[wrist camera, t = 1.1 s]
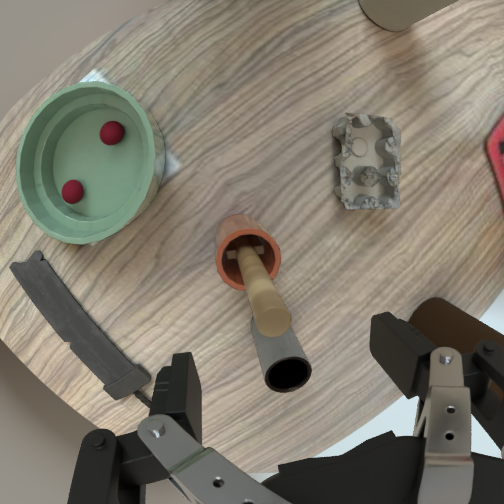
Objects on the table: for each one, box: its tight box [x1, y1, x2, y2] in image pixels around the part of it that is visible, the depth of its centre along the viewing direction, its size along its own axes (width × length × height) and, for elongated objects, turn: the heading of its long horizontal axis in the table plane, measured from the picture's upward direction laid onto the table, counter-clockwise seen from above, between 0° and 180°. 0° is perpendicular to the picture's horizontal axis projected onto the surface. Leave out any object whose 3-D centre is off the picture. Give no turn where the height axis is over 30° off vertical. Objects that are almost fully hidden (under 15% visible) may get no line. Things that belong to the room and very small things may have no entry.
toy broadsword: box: [9, 251, 151, 408], centre depth 33 cm, size 7×35×2 cm, turn 34°
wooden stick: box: [226, 234, 291, 337], centre depth 23 cm, size 2×3×18 cm, turn 97°
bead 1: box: [61, 180, 84, 204], centre depth 27 cm, size 3×3×3 cm
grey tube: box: [251, 317, 312, 393], centre depth 31 cm, size 4×4×10 cm
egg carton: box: [332, 113, 401, 210], centre depth 30 cm, size 11×8×4 cm
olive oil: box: [409, 298, 504, 400], centre depth 28 cm, size 11×11×25 cm
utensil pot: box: [215, 214, 281, 291], centre depth 29 cm, size 5×5×8 cm
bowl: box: [16, 81, 165, 245], centre depth 25 cm, size 15×15×6 cm
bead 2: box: [100, 121, 124, 146], centre depth 26 cm, size 3×3×3 cm
